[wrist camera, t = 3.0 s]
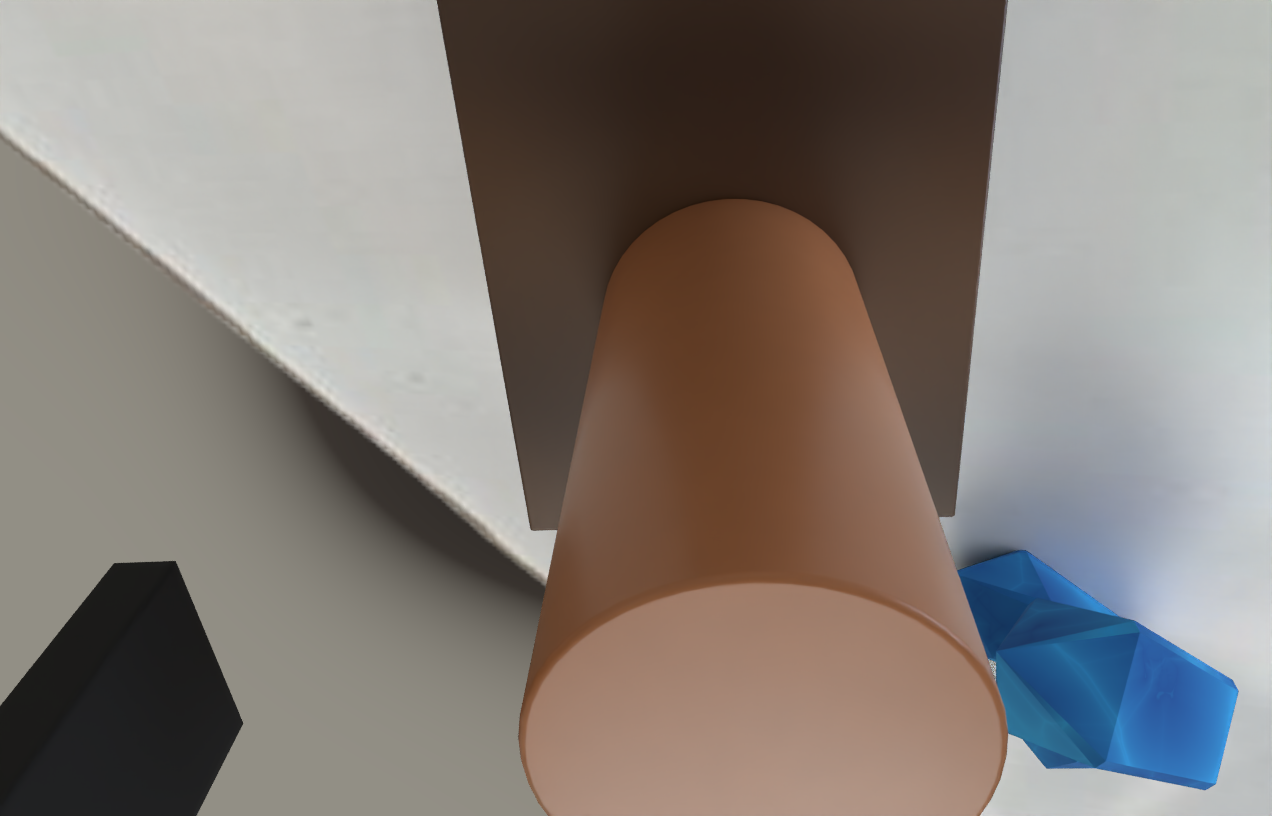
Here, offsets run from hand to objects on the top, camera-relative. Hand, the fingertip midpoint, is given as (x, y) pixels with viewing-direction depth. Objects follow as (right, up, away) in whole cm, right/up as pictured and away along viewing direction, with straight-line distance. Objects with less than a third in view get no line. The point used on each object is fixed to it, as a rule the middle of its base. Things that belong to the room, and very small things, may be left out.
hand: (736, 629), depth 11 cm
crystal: (+14, -4, +24) cm, 28 cm away
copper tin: (+1, +4, +7) cm, 8 cm away
